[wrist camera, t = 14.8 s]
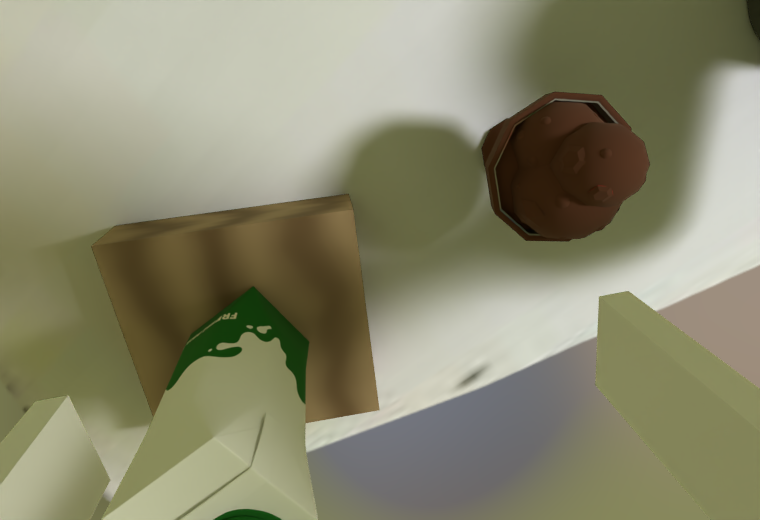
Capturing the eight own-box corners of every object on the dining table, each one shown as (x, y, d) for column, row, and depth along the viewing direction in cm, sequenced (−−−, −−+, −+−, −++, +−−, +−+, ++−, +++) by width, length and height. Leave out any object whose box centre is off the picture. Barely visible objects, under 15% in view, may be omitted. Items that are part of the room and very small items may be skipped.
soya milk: (248, 397, 43) (205, 643, 25) (172, 332, 40) (57, 561, 22) (324, 341, 42) (337, 556, 24) (253, 269, 39) (203, 454, 20)
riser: (348, 193, 43) (353, 209, 38) (372, 378, 50) (379, 410, 46) (115, 225, 41) (91, 246, 36) (178, 411, 49) (164, 448, 44)
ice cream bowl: (459, 82, 40) (537, 92, 27) (582, 91, 42) (715, 105, 28) (444, 204, 44) (505, 269, 30) (557, 208, 46) (663, 270, 32)
